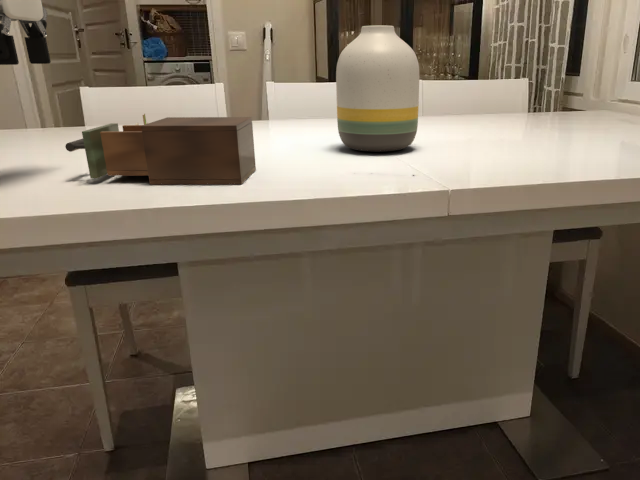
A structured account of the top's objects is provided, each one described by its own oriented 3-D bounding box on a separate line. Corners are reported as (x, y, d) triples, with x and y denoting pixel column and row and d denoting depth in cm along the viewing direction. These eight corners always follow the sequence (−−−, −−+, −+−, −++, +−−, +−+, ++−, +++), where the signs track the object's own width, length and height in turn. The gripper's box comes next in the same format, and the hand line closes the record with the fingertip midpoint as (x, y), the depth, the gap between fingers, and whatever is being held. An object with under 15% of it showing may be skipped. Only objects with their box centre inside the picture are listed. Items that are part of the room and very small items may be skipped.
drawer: (64, 178, 88) (54, 131, 86) (94, 166, 98) (86, 123, 95) (174, 178, 88) (168, 131, 85) (194, 165, 98) (189, 123, 95)
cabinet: (149, 184, 88) (140, 125, 84) (173, 170, 99) (166, 117, 95) (241, 184, 88) (236, 125, 84) (255, 170, 98) (251, 117, 95)
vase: (326, 154, 113) (322, 25, 105) (352, 142, 129) (350, 28, 120) (407, 157, 109) (410, 23, 100) (424, 144, 124) (428, 27, 115)
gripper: (8, -54, 89) (32, 63, 95) (-74, -78, 72) (-38, 65, 79) (55, -55, 89) (76, 63, 95) (-17, -79, 72) (15, 65, 79)
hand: (24, 63), depth 87 cm, fingers open, 8 cm apart
